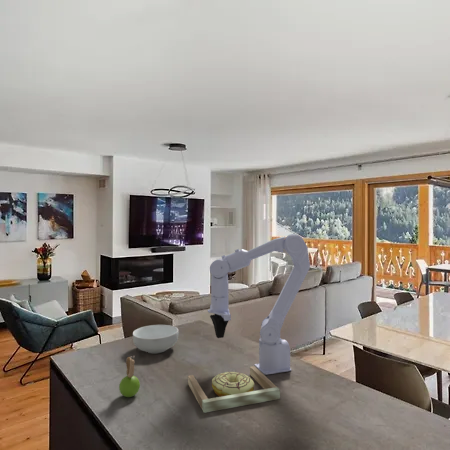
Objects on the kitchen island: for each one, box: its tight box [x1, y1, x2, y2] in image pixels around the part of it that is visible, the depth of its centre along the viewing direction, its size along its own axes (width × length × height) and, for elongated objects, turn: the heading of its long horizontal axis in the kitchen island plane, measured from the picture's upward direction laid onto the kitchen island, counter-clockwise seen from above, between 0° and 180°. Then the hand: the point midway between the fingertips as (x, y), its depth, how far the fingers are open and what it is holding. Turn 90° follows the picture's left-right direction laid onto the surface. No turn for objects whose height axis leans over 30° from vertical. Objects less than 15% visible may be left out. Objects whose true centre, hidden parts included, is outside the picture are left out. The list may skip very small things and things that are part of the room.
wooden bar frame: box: [187, 365, 281, 413], centre depth 100 cm, size 21×16×2 cm
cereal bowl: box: [132, 324, 179, 354], centre depth 133 cm, size 17×17×7 cm
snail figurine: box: [118, 355, 141, 398], centre depth 97 cm, size 5×6×12 cm
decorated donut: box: [211, 371, 255, 397], centre depth 100 cm, size 11×12×4 cm
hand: (219, 337), depth 118 cm, fingers closed
